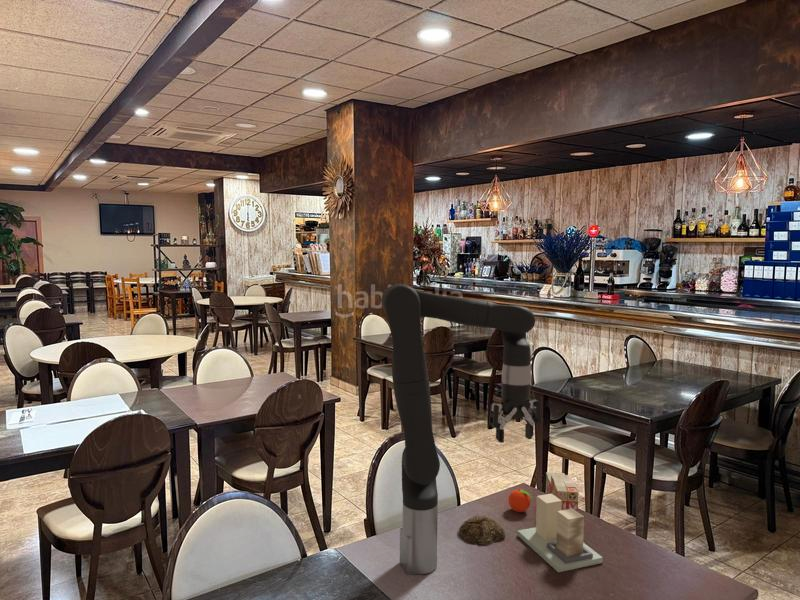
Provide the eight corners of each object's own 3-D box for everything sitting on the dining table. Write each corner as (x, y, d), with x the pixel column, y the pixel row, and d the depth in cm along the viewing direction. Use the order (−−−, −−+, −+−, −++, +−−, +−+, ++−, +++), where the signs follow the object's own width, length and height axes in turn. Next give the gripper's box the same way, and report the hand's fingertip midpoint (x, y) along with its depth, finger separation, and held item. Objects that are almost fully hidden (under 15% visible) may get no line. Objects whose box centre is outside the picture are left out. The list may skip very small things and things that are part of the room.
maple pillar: (567, 558, 149) (568, 519, 148) (556, 549, 154) (557, 511, 153) (582, 555, 151) (584, 516, 150) (571, 546, 155) (572, 508, 154)
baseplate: (558, 572, 145) (559, 526, 144) (517, 535, 164) (518, 494, 163) (602, 562, 150) (604, 518, 149) (557, 527, 169) (559, 487, 168)
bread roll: (484, 521, 173) (484, 505, 173) (511, 539, 163) (511, 522, 162) (450, 531, 167) (450, 515, 167) (476, 550, 156) (476, 533, 156)
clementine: (536, 510, 180) (536, 488, 180) (529, 518, 174) (530, 497, 174) (512, 504, 184) (512, 483, 184) (505, 512, 178) (505, 491, 178)
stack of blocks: (544, 498, 189) (546, 463, 188) (563, 499, 189) (565, 464, 187) (555, 529, 168) (557, 490, 167) (577, 531, 167) (578, 491, 166)
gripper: (531, 375, 154) (529, 433, 155) (485, 379, 149) (484, 438, 150) (547, 381, 146) (545, 441, 148) (499, 385, 142) (498, 447, 143)
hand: (514, 440), depth 149 cm, fingers open, 8 cm apart
